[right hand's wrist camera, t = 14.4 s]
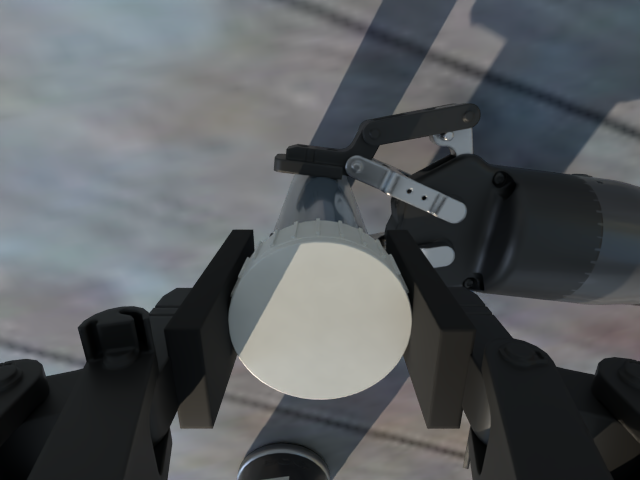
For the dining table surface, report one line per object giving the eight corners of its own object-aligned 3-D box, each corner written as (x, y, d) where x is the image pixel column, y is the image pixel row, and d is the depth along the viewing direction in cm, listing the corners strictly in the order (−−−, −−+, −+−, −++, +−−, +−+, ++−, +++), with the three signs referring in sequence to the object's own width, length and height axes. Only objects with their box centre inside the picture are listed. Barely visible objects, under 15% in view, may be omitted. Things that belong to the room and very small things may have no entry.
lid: (281, 187, 11) (273, 202, 9) (433, 263, 11) (453, 291, 10) (213, 324, 12) (196, 360, 10) (351, 383, 13) (356, 425, 11)
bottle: (359, 178, 27) (421, 294, 11) (327, 223, 29) (339, 391, 12) (311, 146, 27) (297, 217, 10) (281, 194, 28) (223, 330, 11)
